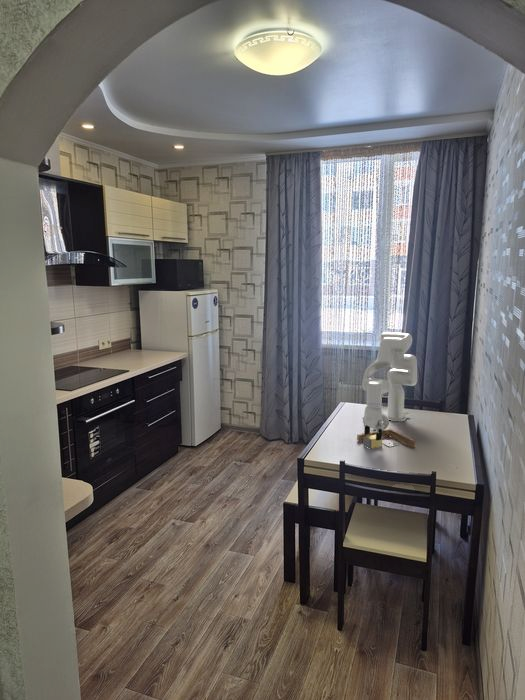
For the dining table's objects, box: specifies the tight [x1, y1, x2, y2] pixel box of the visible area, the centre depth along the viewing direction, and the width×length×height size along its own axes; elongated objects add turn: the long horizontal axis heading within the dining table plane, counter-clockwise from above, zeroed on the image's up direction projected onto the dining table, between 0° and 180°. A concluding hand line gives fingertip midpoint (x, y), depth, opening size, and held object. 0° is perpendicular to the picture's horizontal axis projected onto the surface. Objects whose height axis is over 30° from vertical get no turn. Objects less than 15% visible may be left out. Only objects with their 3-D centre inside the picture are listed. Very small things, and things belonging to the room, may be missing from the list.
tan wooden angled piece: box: [356, 428, 416, 449], centre depth 245 cm, size 22×20×4 cm
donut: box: [378, 412, 390, 430], centre depth 267 cm, size 10×4×10 cm, turn 63°
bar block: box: [363, 435, 383, 449], centre depth 242 cm, size 8×5×5 cm, turn 114°
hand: (372, 436), depth 242 cm, fingers open, 9 cm apart
